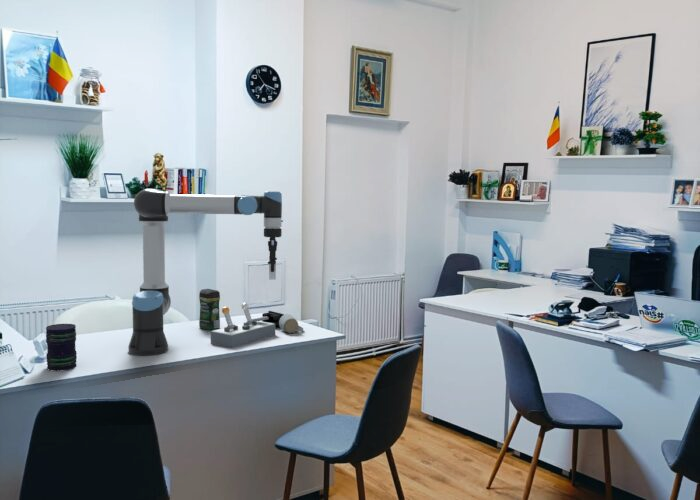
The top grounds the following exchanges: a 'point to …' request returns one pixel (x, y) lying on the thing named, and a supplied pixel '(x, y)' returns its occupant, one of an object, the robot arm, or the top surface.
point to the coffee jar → (209, 309)
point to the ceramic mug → (289, 324)
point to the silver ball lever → (247, 313)
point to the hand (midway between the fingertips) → (272, 277)
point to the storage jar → (61, 346)
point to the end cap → (273, 318)
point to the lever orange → (228, 318)
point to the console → (242, 334)
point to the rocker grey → (261, 318)
